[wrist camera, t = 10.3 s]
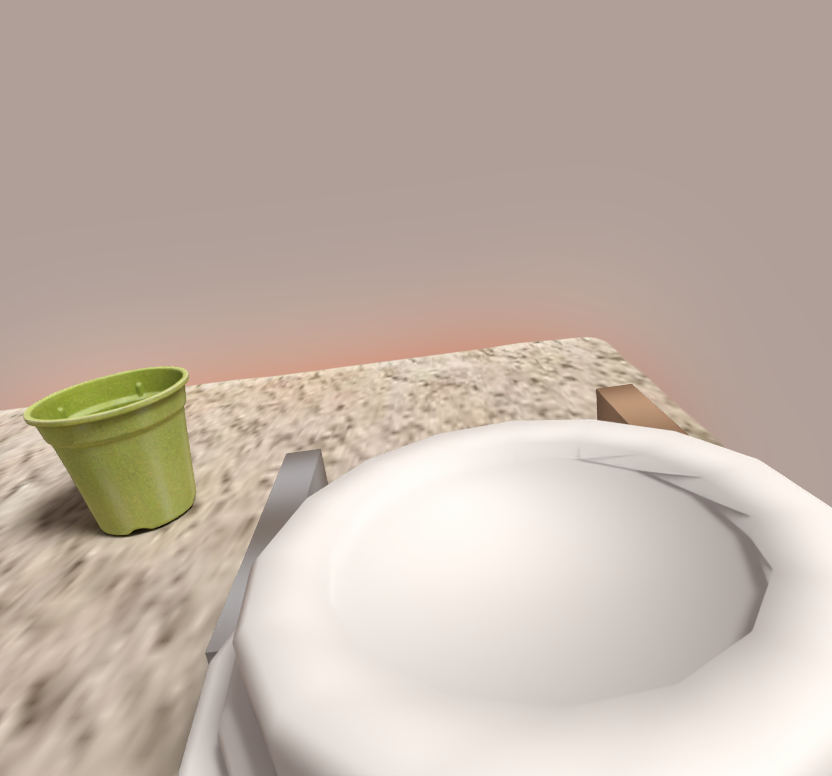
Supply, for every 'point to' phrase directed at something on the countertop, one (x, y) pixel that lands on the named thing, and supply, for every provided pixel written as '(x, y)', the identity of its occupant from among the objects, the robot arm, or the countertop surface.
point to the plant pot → (124, 445)
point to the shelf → (308, 476)
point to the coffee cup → (534, 616)
